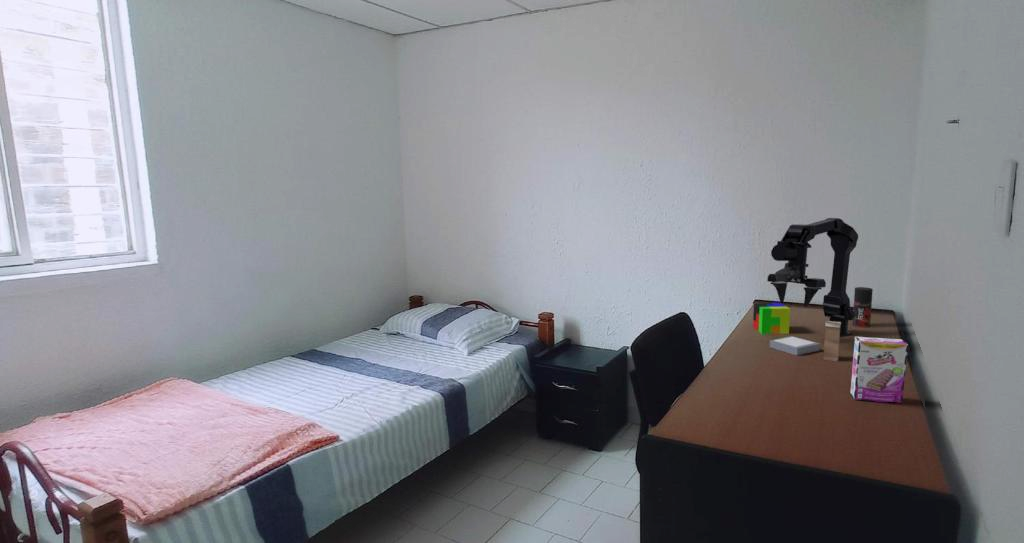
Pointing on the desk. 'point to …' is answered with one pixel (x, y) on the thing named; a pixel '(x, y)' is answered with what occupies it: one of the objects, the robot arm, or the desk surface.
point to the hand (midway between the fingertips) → (793, 304)
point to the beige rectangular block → (832, 340)
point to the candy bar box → (878, 369)
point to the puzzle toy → (771, 318)
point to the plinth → (794, 345)
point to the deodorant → (862, 307)
